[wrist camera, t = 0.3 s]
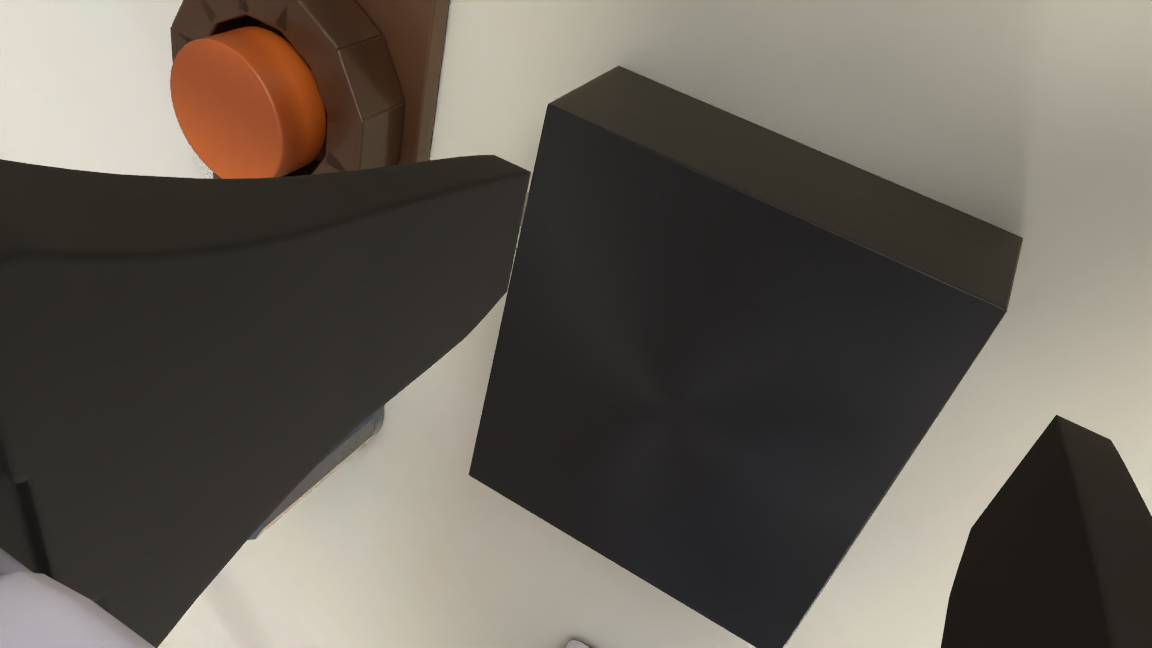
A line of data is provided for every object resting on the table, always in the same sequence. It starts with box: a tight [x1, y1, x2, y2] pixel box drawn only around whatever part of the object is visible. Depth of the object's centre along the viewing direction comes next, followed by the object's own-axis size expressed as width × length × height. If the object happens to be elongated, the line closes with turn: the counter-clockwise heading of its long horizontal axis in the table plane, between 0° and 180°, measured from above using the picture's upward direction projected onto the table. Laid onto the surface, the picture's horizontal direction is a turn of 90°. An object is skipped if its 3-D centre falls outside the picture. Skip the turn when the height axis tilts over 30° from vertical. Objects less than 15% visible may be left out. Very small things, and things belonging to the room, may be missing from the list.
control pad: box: [170, 0, 449, 179], centre depth 25 cm, size 10×8×2 cm
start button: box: [170, 26, 327, 179], centre depth 24 cm, size 4×4×2 cm
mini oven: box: [469, 66, 1023, 648], centre depth 22 cm, size 12×11×4 cm
